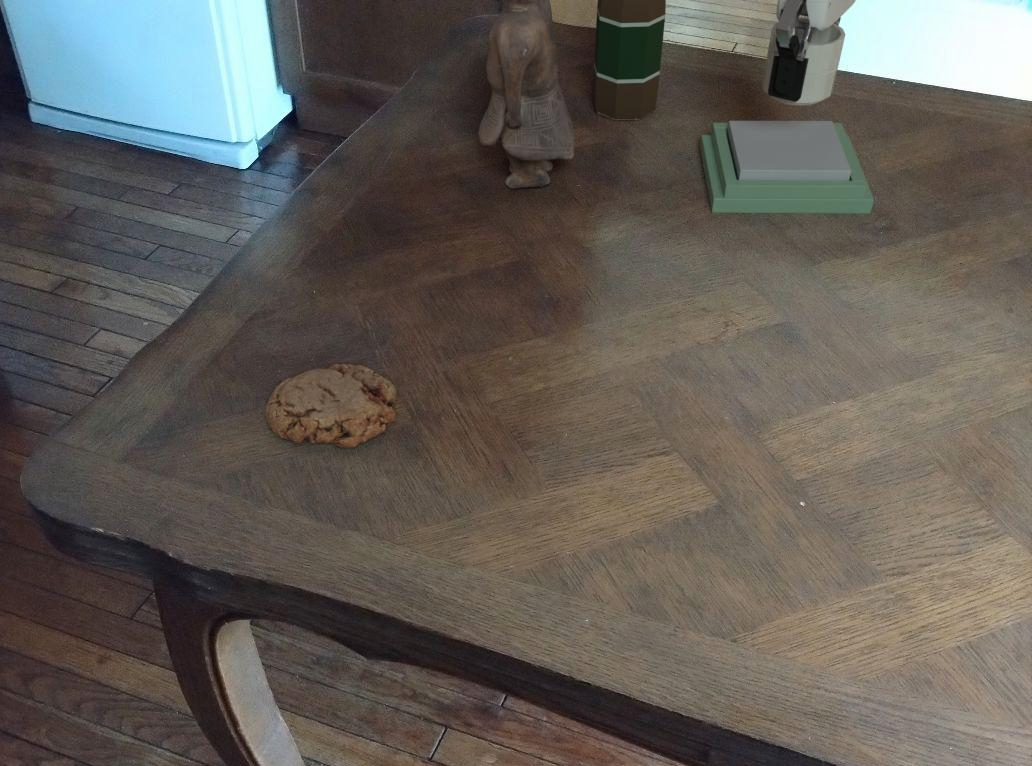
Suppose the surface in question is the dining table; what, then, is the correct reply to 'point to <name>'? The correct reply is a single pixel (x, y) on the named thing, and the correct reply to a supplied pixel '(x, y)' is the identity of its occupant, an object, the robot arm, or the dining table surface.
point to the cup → (812, 63)
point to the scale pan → (787, 150)
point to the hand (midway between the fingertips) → (798, 81)
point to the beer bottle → (628, 57)
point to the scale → (780, 184)
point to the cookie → (332, 406)
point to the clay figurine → (526, 94)
